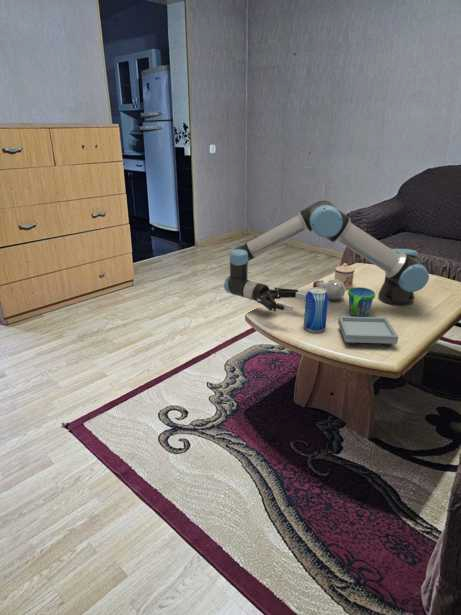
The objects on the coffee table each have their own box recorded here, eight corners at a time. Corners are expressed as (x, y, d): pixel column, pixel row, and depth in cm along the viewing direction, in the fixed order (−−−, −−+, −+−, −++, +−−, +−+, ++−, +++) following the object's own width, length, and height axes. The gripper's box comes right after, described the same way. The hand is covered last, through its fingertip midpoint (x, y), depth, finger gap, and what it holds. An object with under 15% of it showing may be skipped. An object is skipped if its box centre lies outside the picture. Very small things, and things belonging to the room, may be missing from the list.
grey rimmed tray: (384, 329, 168) (386, 317, 166) (396, 349, 154) (398, 336, 152) (337, 328, 170) (338, 316, 167) (344, 347, 155) (346, 335, 153)
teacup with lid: (344, 291, 206) (347, 267, 202) (329, 286, 212) (331, 263, 208) (359, 285, 213) (362, 262, 209) (344, 280, 220) (346, 258, 215)
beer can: (301, 324, 173) (303, 286, 166) (321, 323, 173) (325, 286, 167) (306, 334, 165) (309, 294, 159) (328, 333, 166) (331, 294, 159)
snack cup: (363, 324, 173) (366, 300, 169) (338, 317, 179) (341, 294, 175) (378, 311, 184) (381, 289, 180) (354, 305, 190) (357, 283, 186)
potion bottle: (342, 306, 193) (314, 300, 204) (352, 289, 196) (324, 285, 207) (334, 293, 187) (307, 288, 198) (345, 276, 190) (317, 272, 201)
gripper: (273, 291, 192) (316, 303, 179) (238, 309, 174) (283, 323, 162) (274, 275, 189) (317, 286, 176) (238, 291, 171) (284, 305, 159)
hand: (301, 304), depth 169 cm, fingers open, 13 cm apart
